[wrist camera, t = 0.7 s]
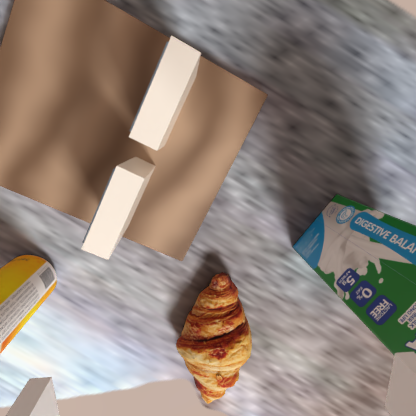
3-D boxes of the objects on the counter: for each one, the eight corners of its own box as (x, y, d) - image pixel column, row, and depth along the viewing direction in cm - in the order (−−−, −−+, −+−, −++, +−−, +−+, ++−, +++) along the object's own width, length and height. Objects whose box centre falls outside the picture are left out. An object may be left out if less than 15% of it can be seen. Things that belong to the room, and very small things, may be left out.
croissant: (223, 369, 46) (256, 410, 40) (168, 398, 41) (196, 451, 34) (234, 254, 40) (274, 281, 34) (171, 270, 35) (205, 305, 28)
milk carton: (338, 280, 39) (586, 516, 15) (291, 247, 37) (490, 458, 13) (382, 230, 37) (737, 405, 13) (336, 193, 35) (654, 320, 11)
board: (-27, 168, 31) (-37, 170, 30) (36, -35, 27) (27, -45, 25) (182, 256, 36) (182, 261, 35) (264, 96, 32) (267, 94, 30)
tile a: (143, 134, 30) (126, 135, 22) (173, 63, 29) (169, 34, 20) (164, 145, 31) (157, 150, 22) (196, 76, 29) (201, 52, 20)
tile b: (107, 217, 32) (79, 248, 24) (134, 155, 31) (114, 164, 22) (128, 226, 33) (108, 259, 24) (155, 165, 31) (144, 178, 23)
